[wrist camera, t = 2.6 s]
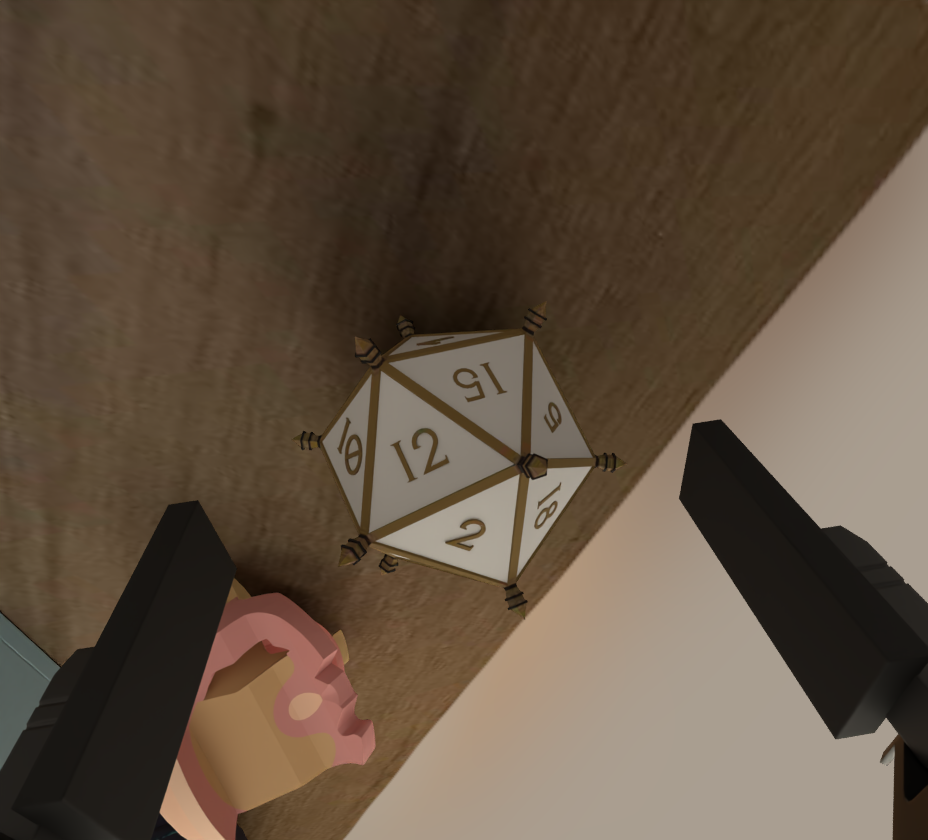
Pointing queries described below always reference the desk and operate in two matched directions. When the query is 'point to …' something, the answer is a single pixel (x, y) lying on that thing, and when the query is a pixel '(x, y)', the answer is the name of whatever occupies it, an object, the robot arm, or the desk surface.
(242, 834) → the portable speaker
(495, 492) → the game die
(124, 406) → the desk surface
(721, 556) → the robot arm
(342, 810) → the desk surface
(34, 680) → the tote
